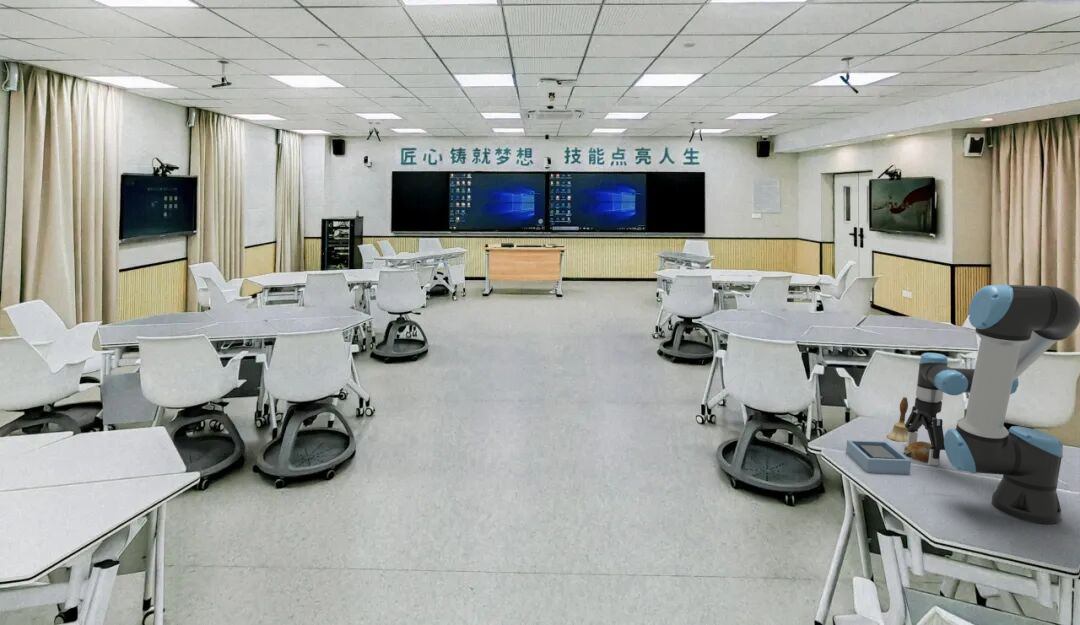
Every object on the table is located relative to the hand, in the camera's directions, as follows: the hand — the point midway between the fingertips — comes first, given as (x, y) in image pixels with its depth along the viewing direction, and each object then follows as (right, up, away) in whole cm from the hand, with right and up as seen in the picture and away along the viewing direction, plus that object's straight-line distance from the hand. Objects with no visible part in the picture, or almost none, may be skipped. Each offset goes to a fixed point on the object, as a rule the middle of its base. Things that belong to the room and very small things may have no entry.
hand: (921, 458), depth 199 cm
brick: (-19, 0, -5) cm, 19 cm away
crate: (-19, -1, -5) cm, 19 cm away
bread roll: (0, -1, 0) cm, 1 cm away
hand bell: (+4, +3, +18) cm, 19 cm away
